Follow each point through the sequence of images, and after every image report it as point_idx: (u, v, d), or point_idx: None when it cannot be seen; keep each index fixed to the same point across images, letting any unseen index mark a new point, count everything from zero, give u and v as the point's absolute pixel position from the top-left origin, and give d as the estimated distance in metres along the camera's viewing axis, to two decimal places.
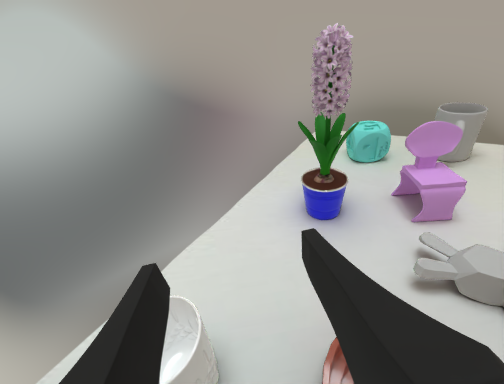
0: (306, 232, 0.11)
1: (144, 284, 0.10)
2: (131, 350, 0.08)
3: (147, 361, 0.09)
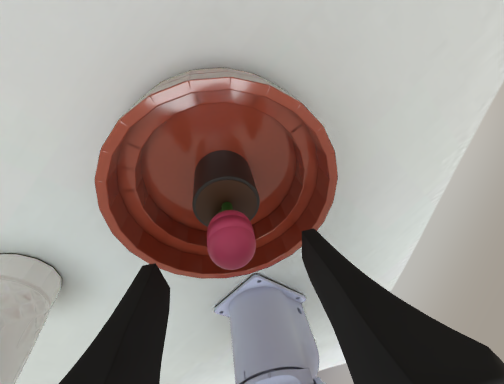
0: (306, 232, 0.11)
1: (144, 284, 0.10)
2: (131, 350, 0.08)
3: (147, 361, 0.09)
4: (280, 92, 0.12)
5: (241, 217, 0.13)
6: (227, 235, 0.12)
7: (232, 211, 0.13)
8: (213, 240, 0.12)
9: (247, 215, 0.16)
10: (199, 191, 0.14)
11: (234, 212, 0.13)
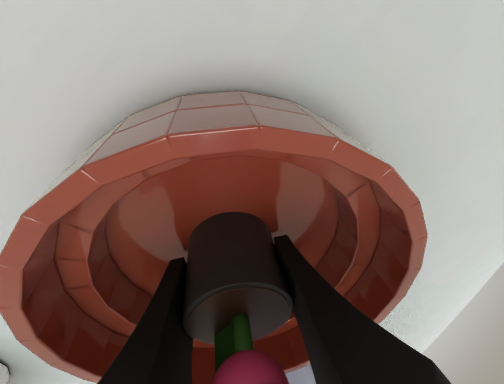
0: (278, 238, 0.11)
1: (176, 277, 0.10)
2: (170, 341, 0.08)
3: (182, 352, 0.09)
4: (356, 150, 0.06)
5: (272, 383, 0.07)
6: None
7: (255, 368, 0.07)
8: None
9: (272, 325, 0.10)
10: (194, 305, 0.08)
11: (259, 372, 0.07)
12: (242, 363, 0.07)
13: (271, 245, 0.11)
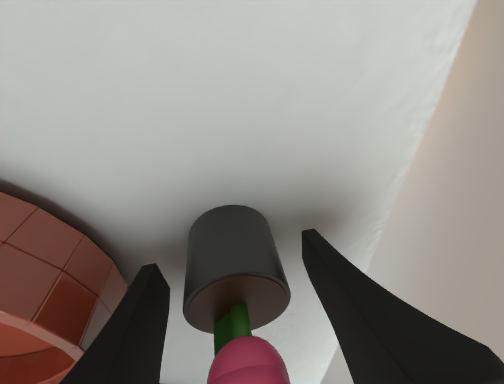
0: (306, 232, 0.11)
1: (144, 284, 0.10)
2: (131, 350, 0.08)
3: (147, 361, 0.09)
4: None
5: (269, 365, 0.07)
6: None
7: (253, 351, 0.07)
8: None
9: (270, 315, 0.10)
10: (194, 293, 0.09)
11: (256, 355, 0.07)
12: (240, 347, 0.07)
13: (269, 237, 0.11)
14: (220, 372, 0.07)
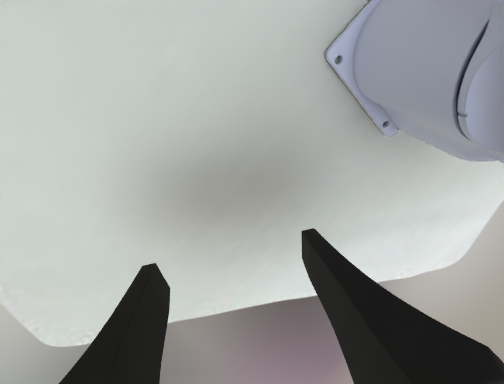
0: (306, 232, 0.11)
1: (144, 284, 0.10)
2: (131, 350, 0.08)
3: (147, 361, 0.09)
4: None
5: None
6: None
7: None
8: None
9: None
10: None
11: None
12: None
13: None
14: None
